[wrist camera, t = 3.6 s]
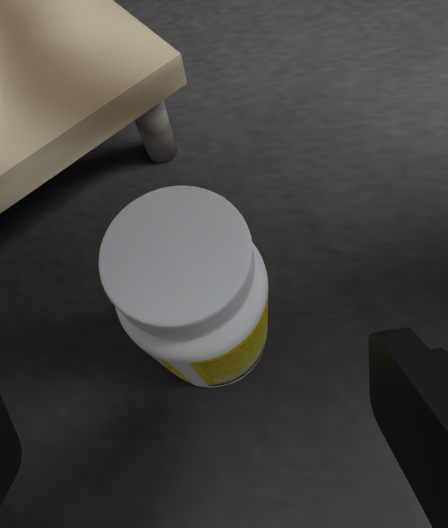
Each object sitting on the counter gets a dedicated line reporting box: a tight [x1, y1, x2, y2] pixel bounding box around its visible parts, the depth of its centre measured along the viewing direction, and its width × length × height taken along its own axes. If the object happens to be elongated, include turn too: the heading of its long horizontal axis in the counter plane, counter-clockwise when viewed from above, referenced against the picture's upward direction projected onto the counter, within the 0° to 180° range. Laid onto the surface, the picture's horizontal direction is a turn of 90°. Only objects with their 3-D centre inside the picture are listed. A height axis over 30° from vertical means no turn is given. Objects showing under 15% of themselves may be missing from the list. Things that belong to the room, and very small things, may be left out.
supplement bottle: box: [99, 186, 268, 387], centre depth 14 cm, size 5×5×8 cm
